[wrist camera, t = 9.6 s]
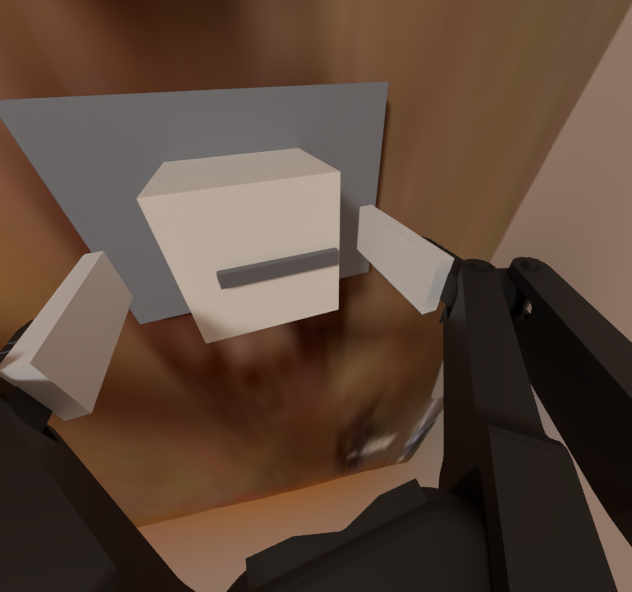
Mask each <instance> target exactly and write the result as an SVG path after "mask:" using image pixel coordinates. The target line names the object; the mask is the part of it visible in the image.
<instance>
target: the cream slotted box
mask: <svg viewBox="0 0 632 592" xmlns="http://www.w3.org/2000/svg"><path fill="white" fill-rule="evenodd" d="M136 199H137V201H138V203H139V205H140V207H141V209H142V211H143V213H144V215H145V217H146V220H147V222H148V224H149V226H150V228H151V230H152V232H153V234H154V236H155V238H156V240H157V242H158V245H159V247H160V249H161V251H162V253H163V255H164V257H165V259H166V261H167V263H168V265H169V267H170V269H171V272H172V274H173V276H174V278H175V280H176V282H177V284H178V286H179V288H180V290H181V292H182V294H183V297H184V299H185V301H186V303H187V305H188V307H189V309H190V311H191V313H192V315H193V317H194V319H195V321H196V324H197V326H198V328H199V330H200V332H201V334H202V336H203V338H204V340H205V342H206V343H210V342H214V341H218V340H222V339H226V338H230V337H234V336H237V335H241V334H245V333H249V332H253V331H257V330H261V329H265V328H268V327H272V326H276V325H280V324H284V323H288V322H292V321H296V320H299V319H303V318H307V317H311V316H315V315H319V314H323V313H327V312H330V311H334V310H338V304H339V238H340V171H339V170H337V169H335V168H333V167H331V166H330V165H328V164H326V163H324V162H323V161H321V160H319V159H317V158H315V157H314V156H312V155H310V154H308V153H306V152H305V151H303V150H301V149H299V148H294V149H285V150H275V151H266V152H256V153H247V154H237V155H228V156H218V157H209V158H199V159H190V160H180V161H171V162H163V164H162V165H161V166H160V168H159V169H158V170H157V172H156V173H155V174H154V176H153V177H152V178H151V179H150V181H149V182H148V183H147V185H146V186H145V187H144V189H143V190H142V191H141V193H140V194H139V195H138V197H137V198H136Z"/></svg>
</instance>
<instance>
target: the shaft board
mask: <svg viewBox="0 0 632 592" xmlns="http://www.w3.org/2000/svg"><path fill="white" fill-rule="evenodd" d="M387 91H388V82H369V83H348V84H327V85H306V86H284V87H263V88H242V89H221V90H200V91H179V92H158V93H137V94H116V95H95V96H73V97H52V98H31V99H10V100H0V118H1V119H2V121H3V122H4V124H5V125H6V127H7V128H8V130H9V131H10V132H11V134H12V135H13V137H14V138H15V140H16V141H17V143H18V144H19V146H20V147H21V149H22V150H23V152H24V153H25V155H26V156H27V158H28V159H29V161H30V162H31V164H32V165H33V166H34V168H35V169H36V171H37V172H38V174H39V175H40V177H41V178H42V180H43V181H44V183H45V184H46V186H47V187H48V189H49V190H50V192H51V193H52V195H53V196H54V198H55V199H56V200H57V202H58V203H59V205H60V206H61V208H62V209H63V211H64V212H65V214H66V215H67V217H68V218H69V220H70V221H71V223H72V224H73V226H74V227H75V229H76V230H77V232H78V233H79V235H80V236H81V237H82V239H83V240H84V242H85V243H86V245H87V246H88V248H89V249H90V251H91V252H92V253H94V252H100V251H104V253H105V254H106V256H107V257H108V259H109V260H110V262H111V264H112V265H113V267H114V268H115V270H116V271H117V273H118V274H119V276H120V277H121V279H122V281H123V282H124V284H125V285H126V287H127V288H128V290H129V291H130V293H131V295H132V296H133V299H132V301H131V304H130V307H129V308H130V310H131V311H132V313H133V314H134V316H135V317H136V319H137V320H138V322H139V323H140V324H143V323H147V322H152V321H156V320H160V319H165V318H169V317H173V316H178V315H182V314H187V313H191V311H190V309H189V307H188V305H187V303H186V301H185V299H184V297H183V294H182V292H181V290H180V288H179V286H178V284H177V282H176V280H175V278H174V276H173V274H172V272H171V269H170V267H169V265H168V263H167V261H166V259H165V257H164V255H163V253H162V251H161V249H160V247H159V245H158V242H157V240H156V238H155V236H154V234H153V232H152V230H151V228H150V226H149V224H148V222H147V220H146V217H145V215H144V213H143V211H142V209H141V207H140V205H139V203H138V201H137V199H136V198H137V197H138V195H139V194H140V193H141V191H142V190H143V189H144V187H145V186H146V185H147V183H148V182H149V181H150V179H151V178H152V177H153V176H154V174H155V173H156V172H157V170H158V169H159V168H160V166H161V165H162V164H163V162H171V161H180V160H190V159H199V158H209V157H218V156H228V155H237V154H247V153H256V152H266V151H275V150H285V149H294V148H299V149H301V150H303V151H305V152H306V153H308V154H310V155H312V156H314V157H315V158H317V159H319V160H321V161H323V162H324V163H326V164H328V165H330V166H331V167H333V168H335V169H337V170H339V171H340V238H339V279H340V278H344V277H349V276H353V275H357V274H362V273H366V272H369V263H370V262H369V261H368V260H367V259H366V258H365V257H364V256H363V255H362V254H361V253H360V252H359V251H358V250H357V241H358V227H359V212H360V207H362V206H368V205H373V206H374V207H375V205H376V196H377V186H378V177H379V167H380V158H381V148H382V138H383V129H384V119H385V110H386V100H387Z"/></svg>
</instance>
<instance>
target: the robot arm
mask: <svg viewBox="0 0 632 592" xmlns="http://www.w3.org/2000/svg"><path fill="white" fill-rule="evenodd" d="M357 250H358V251H359V252H360V253H361V254H362V255H363V256H364V257H365V258H366V259H367V260H368V261H369V262H370V263H371V264H372V265H373V266H374V267H375V268H376V269H377V270H378V271H379V272H380V273H381V274H382V275H383V276H384V277H385V278H386V279H387V280H388V281H389V282H390V283H391V284H392V285H393V286H394V287H395V288H396V289H397V290H398V291H399V292H400V293H401V294H402V295H403V296H404V297H405V298H406V299H407V300H408V301H409V302H410V303H411V304H412V305H413V306H414V307H415V308H416V309H417V310H418V311H419V312H420V313H421V314H425V313H428V312H431V311H435V310H436V309H437V306H438V304H439V301H440V300H441V301H442V302H444V303H445V304H446V305H445V308H444V311H443V313H442V316H441V319H440V321H439V323H442V321H443V351H444V456H443V463H442V467H441V471H440V477H439V489H437V488H432V487H420V485H419V483H418V481H417V480H416V478H415V479H413V480H411V481H409V482H407V483H405V484H403V485H401V486H398V487H396V488H395V489H392V490H390V491H388V492H386V493H384V494H381V495H379V496H378V497H377V498H376V499H375V500H374V501H373V502H372V503H371V504H370V505H369V506H368V507H367V508H366V509H365V510H364V511H363V512H362V513H361V514H360V515H359V516H358V517H357V518H356V519H355V520H354V521H353V522H352V523H351V524H350V525H349V526H348V527H347V528H345V529H344V530H342V531H339V532H330V533H321V534H312V535H302V536H293V537H291V538H289V539H286V540H284V541H282V542H280V543H278V544H276V545H274V546H272V547H269V548H267V549H265V550H263V551H261V552H259V553H257V554H255V555H253V556H251V557H248V558H246V571H245V572H244V573H243V574H242V575H241V576H239V578H238V579H237V580H236V581H235V582H234V583H233V585H232V586H231V587H230V588H229V589H228V590H227V592H618V591H617V588H616V585H615V582H614V579H613V576H612V573H611V571H610V568H609V565H608V562H607V559H606V556H605V553H604V550H603V548H602V544H601V542H600V539H599V536H598V533H597V530H596V527H595V524H594V521H593V518H592V515H591V513H590V510H589V507H588V504H587V501H586V498H585V495H584V492H583V489H582V486H581V484H580V481H579V478H578V475H577V472H576V469H575V466H574V463H573V460H572V458H571V456H570V454H569V452H568V450H567V449H566V447H565V446H564V445H563V444H562V443H561V442H560V441H557V440H554V439H551V438H549V437H548V436H547V435H546V434H545V431H544V429H543V426H542V423H541V419H540V416H539V412H538V409H537V405H536V402H535V399H534V395H533V392H532V388H531V385H532V387H533V389H534V391H535V392H536V394H537V395H538V397H539V399H540V401H541V403H542V404H543V406H544V408H545V409H546V411H547V413H548V414H549V416H550V418H551V420H552V421H553V423H554V425H555V426H556V428H557V430H558V432H559V433H560V435H561V437H562V438H563V440H564V442H565V444H566V445H567V447H568V449H569V450H570V452H571V454H572V455H573V457H574V459H575V461H576V462H577V464H578V466H579V468H580V469H581V471H582V473H583V474H584V476H585V478H586V479H587V481H588V483H589V485H590V486H591V488H592V490H593V491H594V493H595V494H596V496H597V498H598V499H599V501H600V502H601V504H602V506H603V507H604V509H605V510H606V512H607V513H608V515H609V517H610V518H611V519H612V521H613V522H614V523H615V525H616V526H617V528H618V529H619V530H620V532H621V533H622V534H623V536H624V537H625V539H626V540H627V541H628V543H629V544H630V545H631V547H632V342H630V341H629V340H628V339H627V338H626V337H625V336H624V335H623V334H622V333H621V332H620V331H618V330H617V329H616V328H615V327H614V326H613V325H612V324H611V323H610V322H609V321H608V320H607V319H606V318H604V317H603V316H602V315H601V314H600V313H599V312H598V311H597V310H596V309H595V308H594V307H593V306H592V305H591V304H589V303H588V302H587V301H586V300H585V299H584V298H583V297H582V296H581V295H580V294H579V293H577V292H576V291H575V290H574V289H573V288H572V287H571V286H570V285H569V284H568V283H567V282H566V281H565V280H564V279H563V278H561V277H560V276H559V275H558V274H557V273H556V272H555V271H554V270H553V269H552V268H551V267H550V266H548V265H547V264H545V263H543V262H541V261H539V260H538V259H533V258H530V257H528V258H526V257H519V258H515V259H513V261H512V263H511V265H510V267H509V268H499V269H497V268H495V266H493V265H492V264H490V263H488V262H486V261H483V260H478V259H467V260H463V259H461V258H459V257H458V256H456V255H455V254H453V253H451V252H450V251H448V250H447V249H444V247H442V246H440V245H438V244H437V243H436V242H434V241H432V240H431V239H428V238H425V237H423V236H419V235H418V234H416V233H415V232H413V231H411V230H410V229H408V228H407V227H405V226H404V225H402V224H401V223H399V222H397V221H396V220H394V219H393V218H391V217H390V216H388V215H387V214H385V213H384V212H382V211H380V210H379V209H377V208H376V207H374V206H373V205H368V206H362V207H360V212H359V227H358V241H357ZM132 299H133V296H132V295H131V293H130V291H129V290H128V288H127V287H126V285H125V284H124V282H123V281H122V279H121V277H120V276H119V274H118V273H117V271H116V270H115V268H114V267H113V265H112V264H111V262H110V260H109V259H108V257H107V256H106V254H105V253H104V251H100V252H94V253H89V254H84V255H83V257H82V258H81V259H80V260H79V262H78V263H77V264H76V266H75V267H74V268H73V270H72V271H71V272H70V274H69V275H68V276H67V277H66V279H65V280H64V281H63V283H62V284H61V285H60V287H59V288H58V289H57V291H56V292H55V293H54V294H53V296H52V297H51V298H50V300H49V301H48V302H47V304H46V305H45V306H44V308H43V309H42V310H41V311H40V313H39V314H38V315H37V317H36V318H35V319H34V320H31V321H29V322H28V323H27V324H26V325H24V326H23V327H22V328H20V329H19V330H18V331H16V333H15V334H14V335H13V336H12V338H11V339H10V340H9V341H8V345H5V346H4V348H3V349H2V350H1V351H0V592H195V591H194V590H192V589H191V588H190V587H188V586H187V585H185V584H184V583H183V582H182V581H181V580H180V579H179V578H178V577H177V576H176V575H175V574H174V573H173V571H172V570H171V569H170V568H169V567H168V565H167V564H166V563H165V562H164V561H163V560H162V558H161V557H160V556H159V555H158V553H157V552H156V551H155V550H154V548H153V547H152V546H151V545H150V544H149V542H148V541H147V540H146V539H145V538H144V537H143V535H142V534H141V533H140V532H139V530H138V529H137V528H136V527H135V526H134V524H133V523H132V522H131V521H130V520H129V518H128V517H127V516H126V515H125V514H124V512H123V511H122V510H121V509H120V508H119V506H118V505H117V504H116V503H115V502H114V500H113V499H112V498H111V497H110V496H109V494H108V493H107V492H106V491H105V490H104V488H103V487H102V486H101V485H100V484H99V482H98V481H97V480H96V479H95V477H94V476H93V475H92V474H91V473H90V471H89V470H88V469H87V468H86V467H85V465H84V464H83V463H82V462H81V461H80V459H79V458H78V457H77V456H76V455H75V453H74V452H73V451H72V450H71V449H70V447H69V446H68V445H67V444H66V443H65V441H64V440H63V439H62V438H61V437H60V435H59V434H58V433H57V432H56V431H55V429H53V428H52V427H50V426H49V425H47V422H48V420H49V418H50V416H51V414H52V413H54V414H55V415H57V416H58V417H59V418H61V419H62V420H64V421H67V420H71V419H74V418H77V417H81V416H84V415H87V414H91V413H92V411H93V408H94V405H95V402H96V399H97V397H98V394H99V391H100V388H101V385H102V383H103V380H104V377H105V374H106V371H107V369H108V366H109V363H110V360H111V357H112V355H113V352H114V349H115V346H116V343H117V341H118V338H119V335H120V332H121V329H122V327H123V324H124V321H125V318H126V315H127V313H128V310H129V307H130V304H131V301H132ZM530 303H531V306H532V310H531V313H529V312H528V311H527V307H528V306H529V304H530ZM530 384H531V385H530Z"/></svg>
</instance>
